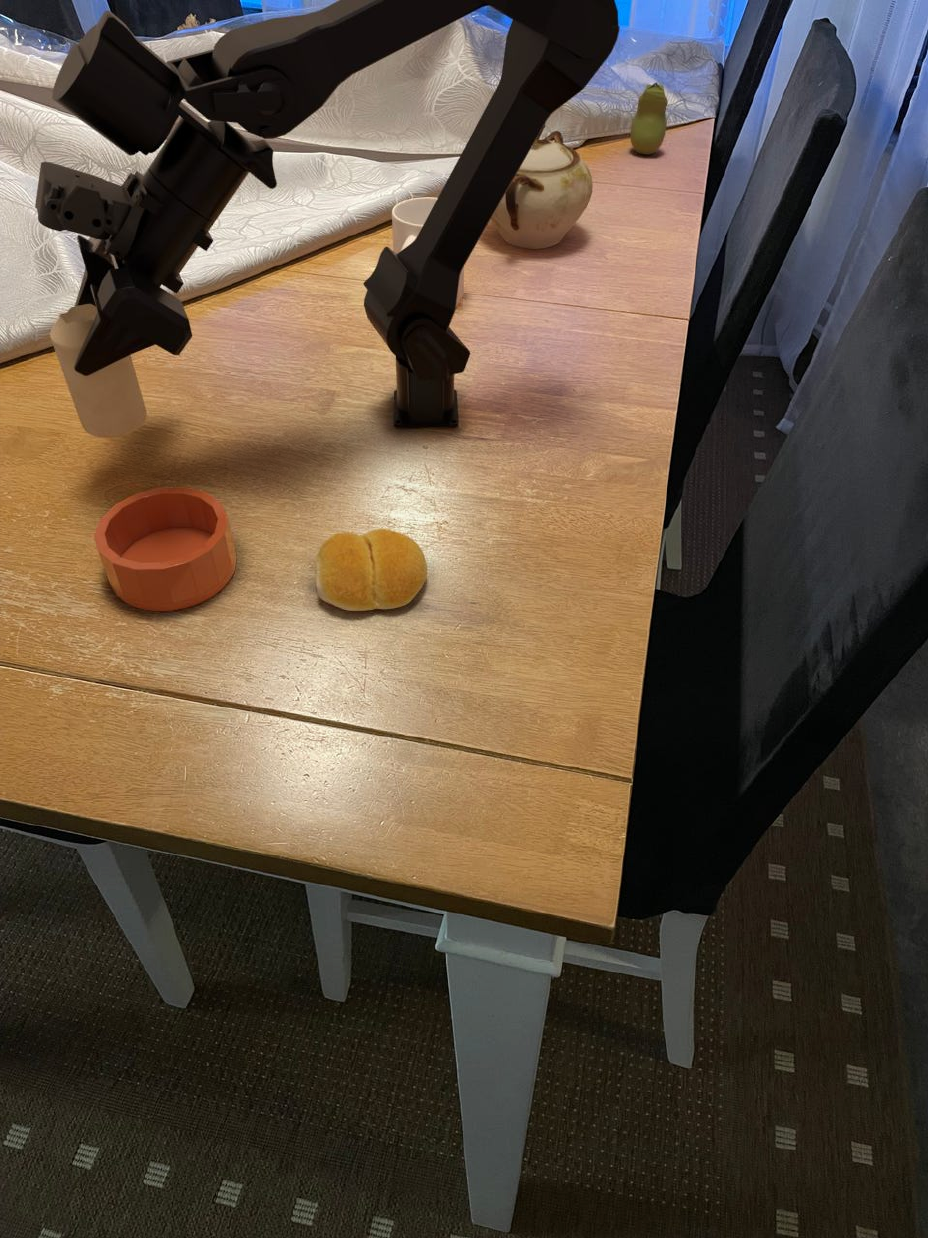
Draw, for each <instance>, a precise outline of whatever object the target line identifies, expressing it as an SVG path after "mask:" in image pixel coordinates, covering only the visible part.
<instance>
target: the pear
mask: <svg viewBox="0 0 928 1238" xmlns="http://www.w3.org/2000/svg"><path fill="white" fill-rule="evenodd" d="M665 92H666V91H665V86H664V85H663V84H658V82H654V83H653V84H648V83H646V86H645V89H644V90H643V93H641V95H640V96H639V98H638V100H637V107H636V111H635V114H634V116H633V118H632V121H631V122H632V123H631V126H630V144H631V147H632V148H633V150H634V151H636V152H637V153H639V154H640V155H651V154H654V153H656V152H657V151H659V149H660V148H661V146H662V145H663V143H664V140H665V137H666V133H667V125H668V124H667V123H668V122H667V115H666V113H667V112H666V111H667V106H668V102H669V100H668V98H667V96H666V93H665Z"/></svg>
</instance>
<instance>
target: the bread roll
mask: <svg viewBox="0 0 928 1238" xmlns="http://www.w3.org/2000/svg"><path fill="white" fill-rule="evenodd" d="M315 558H316V563H315V585H316V586H315V587H316V592H317V593H316V594H317V596H318V597H319V598H320V600H322V601H323V602H325V603H327V604H329V605H332V606H334V607H337V608H338V609H341V610H345V611H349V612H363V611H364V612H365V611H373V610H377V609H378V610H391V609H398V608H401V607H404V606H406V605H408V604H409V603H410V602H411V601H412V600H413V599H414V598H415V597H416V595H417V594H419V591H420V590H422V588H423V586H424V584H425V582H426V581H427V580H426V579H427V576H428V564H427V560H426V556H425V554H424V551H423V550H422V548H421V547H420V545H419V544H418V543H417V542H416V541H415V540H414V539H412V538H411V537H410V536H408V535H406V534H404V533H401V532H398V531H395V530H391V529H387V528H379V529H372V530H370V531H368V532H366V533H363V534H357V533H354V532H347V531H346V532H344V531H343V532H338V533H335V534H333V535H332V536H330V537H329V538H327V539H326V540H325V541H323V543H322V544H321V546H320V548H319V550H318V553H317V555H316V557H315Z"/></svg>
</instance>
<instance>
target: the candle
mask: <svg viewBox="0 0 928 1238" xmlns="http://www.w3.org/2000/svg"><path fill="white" fill-rule="evenodd" d="M96 315H97V307H96V306H94V305H92V304H85V305H80V306H75V305H74V306H71V307H70V308H69V309H68V310H67V311H66V312H65V313H60V314H59V316H58V319H57V320H56V321H55V323H54V325H53V327H52V328H51V330H50V333H49V337H50V340H51V343H52V346H53V348H54V349H53V350H54V351H55V354H56V357H57V360H58V363H59V365H60V368H61V372H62V374H63V377H64V379H65V383H66V386H67V388H68V391H69V394H70V397H71V400H72V402H73V405H74V408H75V411H76V414H77V416H78V419H79V423H80V424H81V427H82V428H83V430H84V431H85V432H86V433H87V434H89V435H90V436H92V437H97V438H103V439H109V438H110V439H113V438H118V437H123V436H127V435H129V434H131V433H132V434H133V432H136V431H138V430H139V429H140V428H141V427H142V426H143V425H145V423H146V421H147V418H148V415H147V414H148V412H147V408H146V404H145V401H144V397H143V393H142V389H141V387H140V383H139V380H138V376H137V373H136V369H135V366H134V362H133V359H132V354H131V355H129V356H127V357H125V358H123V359H121V360H119V361H117V362H115V363H113V364H111V365H109V366H107V367H105V368H103V369H101V370H99V371H97V372H95V373H93V374H90V375H88V376H84V375H82V374H80V373H78V372H76V371H75V369H74V365H75V363H76V360H77V358H78V355H79V353H80V350H81V348H82V346H83V344H84V341H85V339H86V337H87V335H88V332H89V330H90V328H91V326H92V323H93V321H94V319H95V317H96Z"/></svg>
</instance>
